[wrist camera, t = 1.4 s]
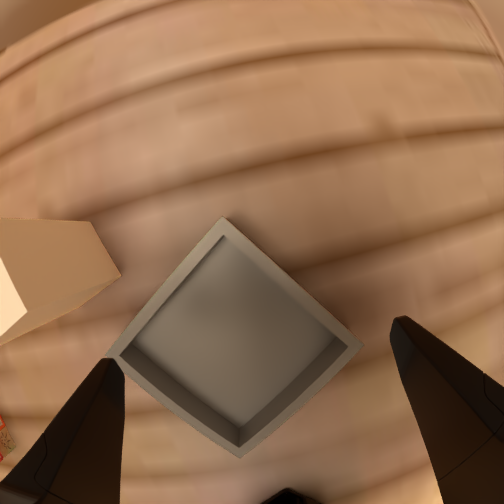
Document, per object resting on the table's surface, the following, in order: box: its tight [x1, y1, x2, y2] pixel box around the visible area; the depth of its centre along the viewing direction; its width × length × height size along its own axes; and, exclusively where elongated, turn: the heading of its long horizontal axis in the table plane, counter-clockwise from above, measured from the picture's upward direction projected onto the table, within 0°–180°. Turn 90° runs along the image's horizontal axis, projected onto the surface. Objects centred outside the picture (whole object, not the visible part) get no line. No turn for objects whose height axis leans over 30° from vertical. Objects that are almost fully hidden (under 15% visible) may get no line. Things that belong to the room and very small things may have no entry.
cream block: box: [0, 218, 122, 346], centre depth 17 cm, size 5×5×12 cm
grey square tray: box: [105, 216, 364, 458], centre depth 22 cm, size 13×13×4 cm
